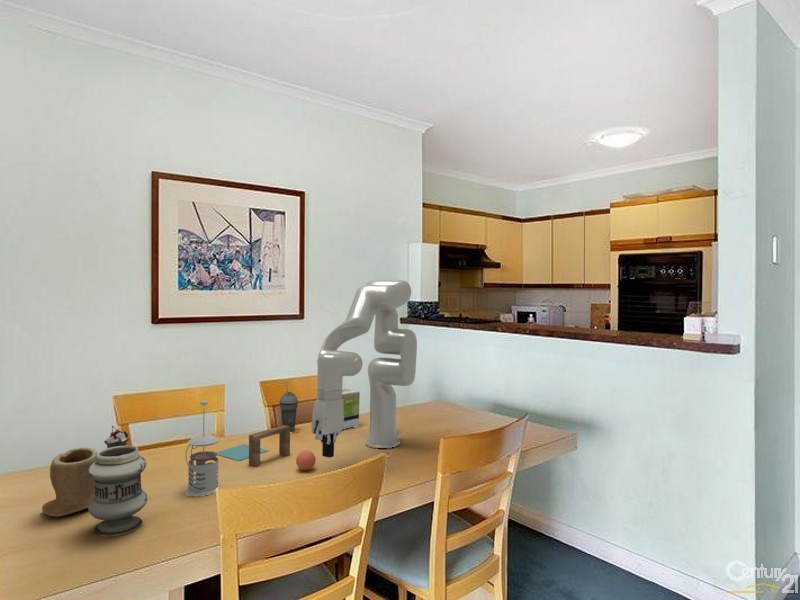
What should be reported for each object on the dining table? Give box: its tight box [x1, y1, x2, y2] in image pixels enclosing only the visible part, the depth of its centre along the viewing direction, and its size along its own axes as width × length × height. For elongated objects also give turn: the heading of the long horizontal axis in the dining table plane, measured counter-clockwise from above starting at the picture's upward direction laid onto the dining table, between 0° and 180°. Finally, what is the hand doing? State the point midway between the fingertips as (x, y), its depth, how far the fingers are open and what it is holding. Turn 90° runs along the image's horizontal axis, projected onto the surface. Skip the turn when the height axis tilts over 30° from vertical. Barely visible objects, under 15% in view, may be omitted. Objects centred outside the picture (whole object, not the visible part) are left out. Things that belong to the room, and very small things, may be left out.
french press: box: [184, 399, 222, 497], centre depth 141 cm, size 10×12×25 cm
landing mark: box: [216, 443, 270, 462], centre depth 174 cm, size 13×13×1 cm
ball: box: [295, 449, 317, 471], centre depth 158 cm, size 6×6×6 cm
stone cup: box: [41, 447, 98, 518], centre depth 128 cm, size 15×12×15 cm
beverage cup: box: [279, 380, 299, 433], centre depth 201 cm, size 7×7×20 cm
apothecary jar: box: [87, 445, 148, 538], centre depth 118 cm, size 12×12×18 cm
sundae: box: [104, 425, 130, 449], centre depth 153 cm, size 7×7×15 cm
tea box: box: [341, 388, 361, 431], centre depth 208 cm, size 15×10×15 cm
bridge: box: [248, 425, 291, 468], centre depth 167 cm, size 3×15×10 cm, turn 147°
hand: (328, 456), depth 152 cm, fingers closed
